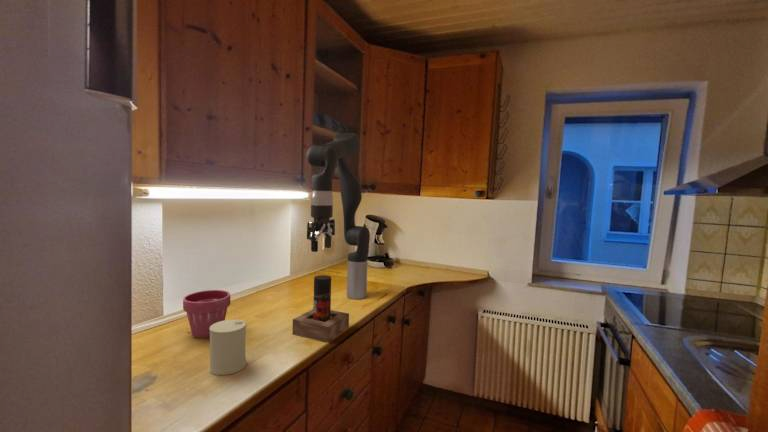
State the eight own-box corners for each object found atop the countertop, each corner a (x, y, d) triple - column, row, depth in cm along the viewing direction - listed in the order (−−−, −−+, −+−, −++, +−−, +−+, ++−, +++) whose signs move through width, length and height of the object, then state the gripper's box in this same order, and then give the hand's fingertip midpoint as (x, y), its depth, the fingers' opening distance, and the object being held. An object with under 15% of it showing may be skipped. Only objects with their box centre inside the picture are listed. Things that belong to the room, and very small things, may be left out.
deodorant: (309, 320, 118) (310, 277, 117) (320, 315, 123) (321, 274, 122) (323, 323, 115) (324, 280, 114) (333, 318, 120) (334, 276, 119)
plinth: (316, 320, 128) (316, 307, 128) (348, 327, 123) (349, 313, 123) (292, 334, 116) (292, 319, 115) (327, 342, 110) (327, 326, 110)
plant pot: (173, 335, 111) (172, 297, 111) (210, 321, 124) (210, 287, 123) (203, 345, 106) (203, 304, 105) (239, 329, 118) (239, 293, 118)
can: (252, 366, 94) (252, 324, 93) (217, 379, 87) (217, 333, 86) (236, 355, 100) (237, 315, 99) (203, 366, 93) (203, 323, 92)
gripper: (323, 202, 127) (323, 245, 128) (300, 204, 114) (300, 251, 115) (341, 203, 124) (340, 247, 125) (319, 205, 111) (319, 254, 112)
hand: (321, 249), depth 120 cm, fingers open, 8 cm apart
